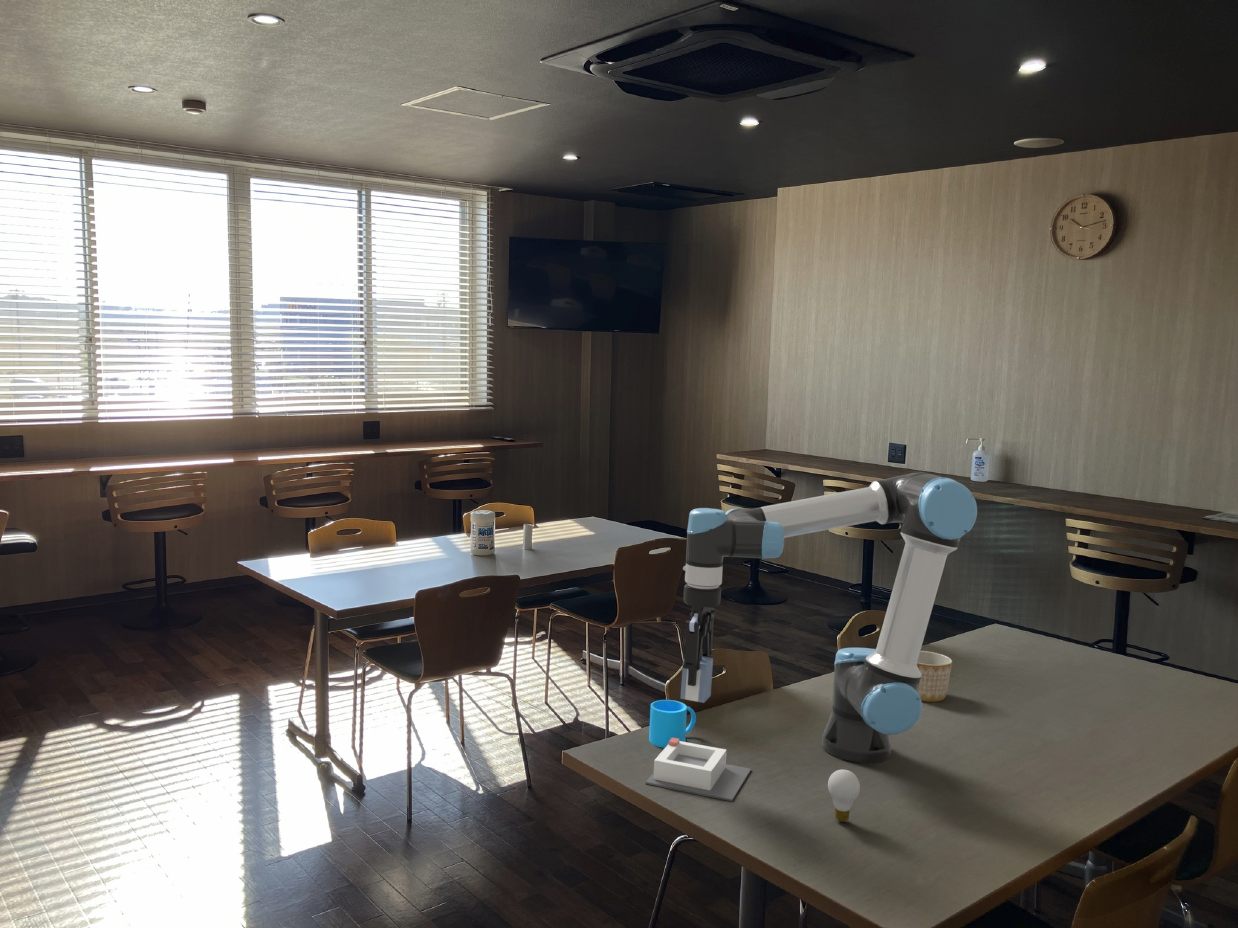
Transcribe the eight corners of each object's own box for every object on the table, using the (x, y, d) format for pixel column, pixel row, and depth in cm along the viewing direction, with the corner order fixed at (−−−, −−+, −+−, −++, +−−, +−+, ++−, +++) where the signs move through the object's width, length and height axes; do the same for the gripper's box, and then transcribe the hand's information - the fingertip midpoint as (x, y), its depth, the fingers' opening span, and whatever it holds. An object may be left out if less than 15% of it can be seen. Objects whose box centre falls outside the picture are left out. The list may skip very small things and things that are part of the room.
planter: (954, 694, 256) (957, 656, 255) (942, 707, 245) (945, 668, 244) (907, 684, 263) (909, 647, 262) (893, 696, 252) (896, 658, 251)
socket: (750, 770, 202) (752, 746, 201) (731, 801, 187) (733, 775, 186) (670, 754, 208) (671, 731, 208) (645, 783, 193) (646, 758, 193)
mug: (663, 750, 210) (665, 714, 210) (642, 738, 217) (643, 703, 216) (705, 740, 217) (707, 705, 216) (683, 728, 224) (685, 694, 223)
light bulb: (821, 814, 183) (824, 763, 182) (851, 814, 184) (854, 764, 183) (831, 828, 177) (834, 777, 176) (861, 828, 178) (865, 777, 177)
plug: (710, 695, 198) (713, 648, 197) (704, 702, 193) (707, 654, 192) (687, 691, 200) (690, 644, 198) (680, 698, 195) (683, 650, 194)
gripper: (697, 574, 204) (690, 679, 206) (671, 591, 187) (665, 706, 189) (731, 578, 201) (724, 685, 203) (708, 596, 184) (701, 712, 187)
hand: (695, 695), depth 196 cm, fingers closed on plug, 5 cm apart
